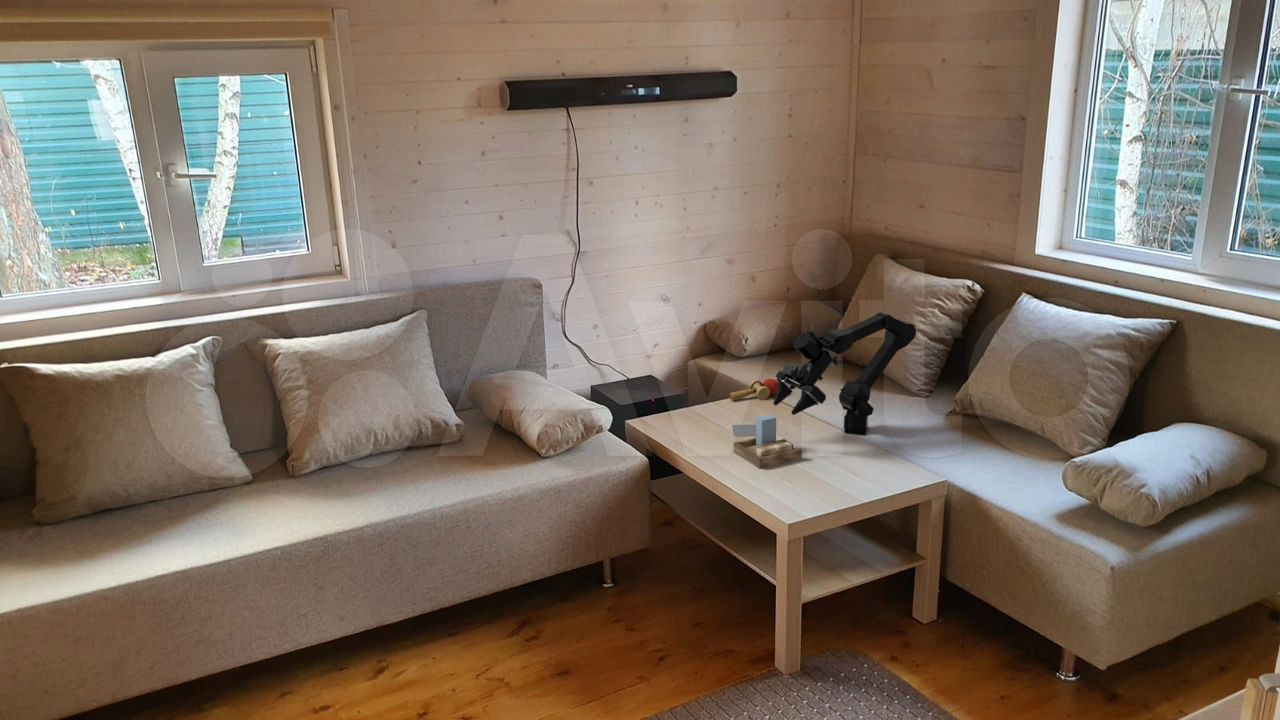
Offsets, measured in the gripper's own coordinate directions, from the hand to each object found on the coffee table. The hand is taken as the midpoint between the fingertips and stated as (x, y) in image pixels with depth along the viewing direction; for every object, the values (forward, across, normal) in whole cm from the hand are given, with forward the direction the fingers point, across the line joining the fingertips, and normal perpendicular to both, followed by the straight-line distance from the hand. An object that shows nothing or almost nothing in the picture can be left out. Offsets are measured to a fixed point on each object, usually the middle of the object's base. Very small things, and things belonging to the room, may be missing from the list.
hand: (783, 409), depth 283 cm
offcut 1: (+16, +8, 0) cm, 18 cm away
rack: (+14, +4, +3) cm, 15 cm away
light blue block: (+12, 0, +4) cm, 13 cm away
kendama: (-3, -42, +21) cm, 47 cm away
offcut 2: (+12, +8, +4) cm, 15 cm away
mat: (+10, -15, +7) cm, 20 cm away
